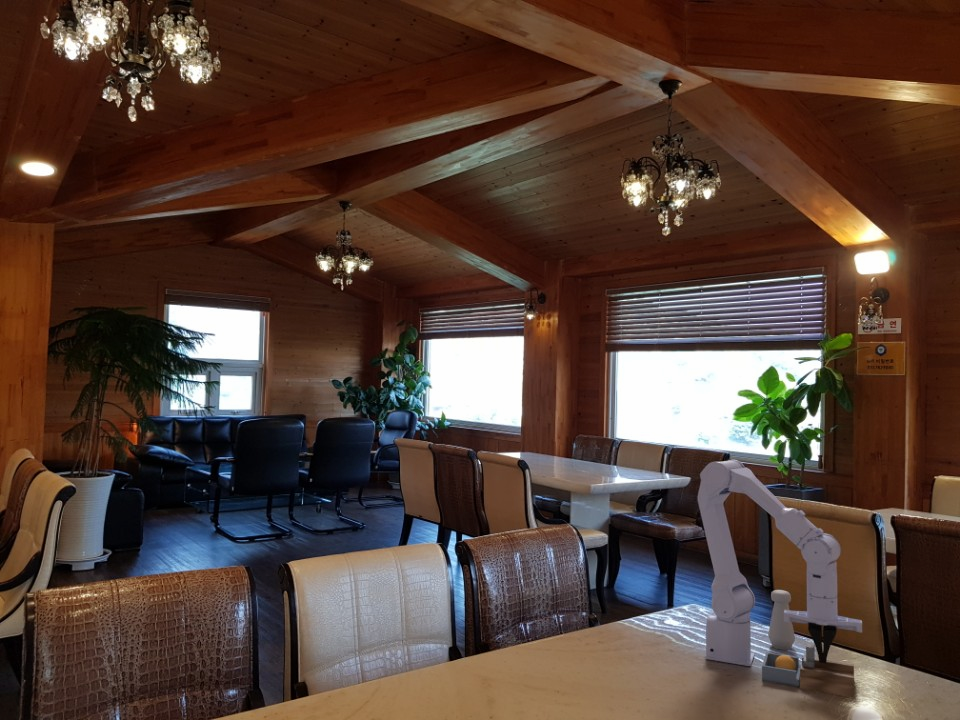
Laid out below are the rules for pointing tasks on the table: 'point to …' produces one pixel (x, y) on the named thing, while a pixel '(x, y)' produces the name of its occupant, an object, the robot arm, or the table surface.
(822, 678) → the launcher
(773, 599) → the salt shaker
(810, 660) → the grey stepped block
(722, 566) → the robot arm
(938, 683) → the table surface
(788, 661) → the ball
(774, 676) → the blue-grey open tray
